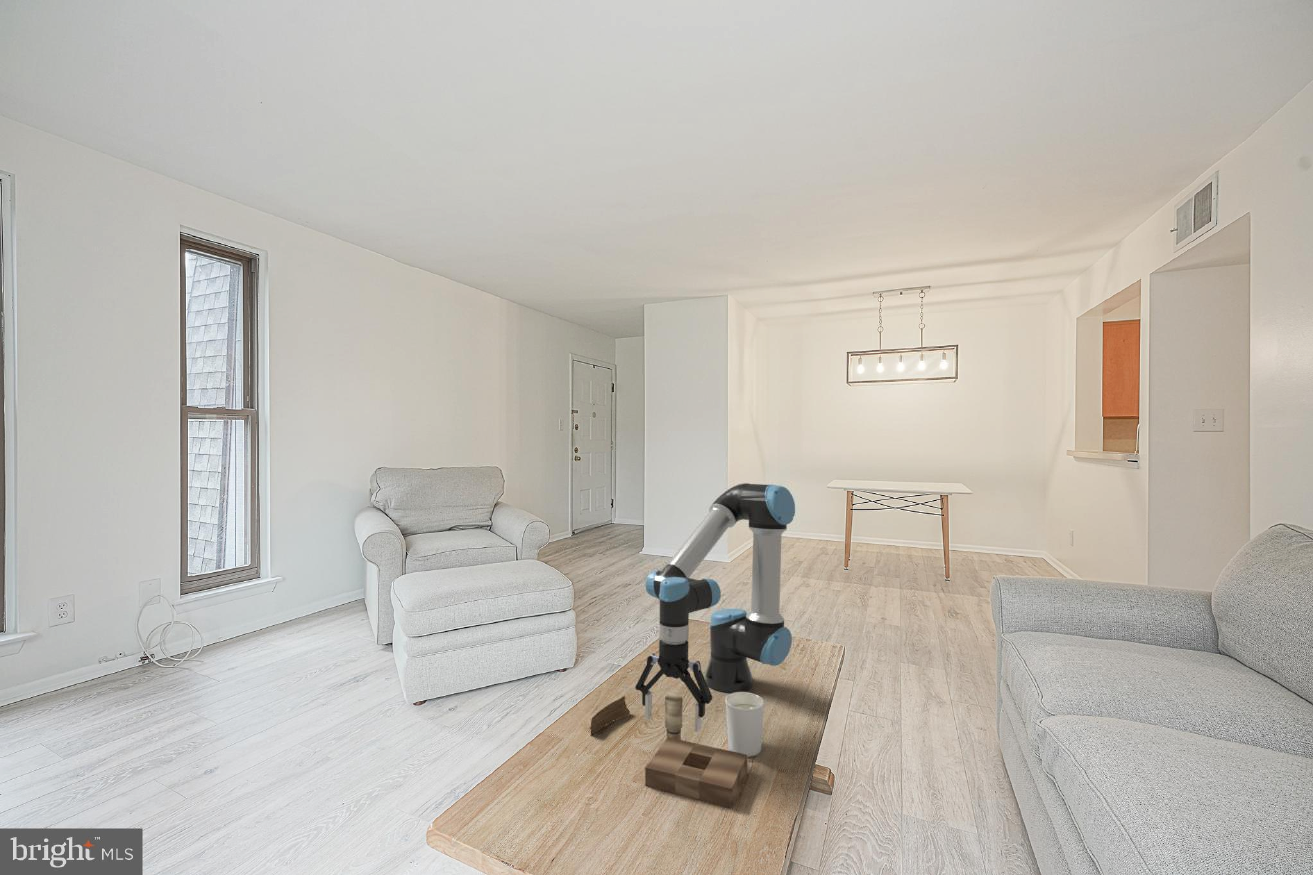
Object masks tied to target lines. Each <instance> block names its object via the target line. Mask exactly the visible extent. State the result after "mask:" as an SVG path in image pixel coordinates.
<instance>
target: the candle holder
mask: <svg viewBox="0 0 1313 875" xmlns="http://www.w3.org/2000/svg"><path fill="white" fill-rule="evenodd" d="M724 699H725V700H724V701H725V715H726V716H725V717H726V732H727V736H726V737H727V746H728V749H729V751H733V752H737V753H742V754H746V755H747V758H749V757H750V758H751V757H755V756H756V755H757V756H758V755H759V754H760V753H761V751H762V742H763V729H764V725H763V724H764V712H765V711H764V709H765V701H764V699H763V698H762V696H760V695H758V694H755V693H753V692H748V691H741V692H730V693H729V694H727V695H726V696H725V698H724Z"/></svg>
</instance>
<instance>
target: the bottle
mask: <svg viewBox="0 0 1313 875" xmlns="http://www.w3.org/2000/svg"><path fill="white" fill-rule="evenodd" d="M664 700H665V701H664V706H665V708H664V718H665V719H664V720H665V721H664V726H665V728H666V739H667V738H668V737H669V738H674V739H678V740H682V735H681V734H682V728H683V697H682V696H681V695H680V694H676V693H675V694H674V693H673V694H668V695H666V696H665V697H664Z"/></svg>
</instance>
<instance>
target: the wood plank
mask: <svg viewBox="0 0 1313 875" xmlns="http://www.w3.org/2000/svg"><path fill="white" fill-rule="evenodd" d="M625 696H626V695H624V696H622V697H621V698H617V699H616V700H615V701H612V702H610V703H609V704H607V705H606V706H605V707H603V708H602V709H600V710H599V711H598V712H596V714H595V715H594V716H592V718H591V720H590V726H589V729H590V736H593V735H594V734H595V733H597V732H599V731H600V730H601V728H602V729H603V728H605V725H606V724H607V725H609V724H611V723H613V722H612V721H613V720H615V721H617V720H616V719H618V720H619V719H623V718H624V717H626V716H628V715H630V714H631V712H630V709H628V707H627V703H626V697H625ZM610 722H611V723H610ZM608 723H609V724H608ZM607 725H606V726H607ZM599 729H600V730H599ZM596 731H597V732H596ZM593 733H594V734H593ZM592 734H593V735H592Z"/></svg>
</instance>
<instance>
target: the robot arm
mask: <svg viewBox="0 0 1313 875" xmlns="http://www.w3.org/2000/svg"><path fill="white" fill-rule="evenodd" d="M708 509H709V510H708V514H707V515H706V516H704V519H703V520H702V521H701V522H700V524H699V525H698V526H696V528H695V530H694V531H693V532H692V533H691V534H690V535H689V537H688V538H686V541H685V542H684V543H683V544H682V545H681V547H680V548H679V549H678V550H677V552H676V553H675V554H674V555H673V556H672V558H671V559H670V560H669V561H668V563H667V564H666V565H665V566H664V567H663V569H662V570H653V571H651V572H649V573H648V575H647V577H646V580H645V584H644V585H645V591H646V593H647V594H648V595H650V596H651V597H653V598H656V599H657V600H659V624H658V625H659V630H658V631H659V633H658V634H659V641H658V654H659V656H657V655H656V654H655V653H651V654H650V655H649V656H647V659H646V664H645V667H644V669H643V671H642V673H641V675H640V677H639V678H638V681H637V682H636V685H635V690H636V691H640V692H641V695H642V696H641V698H642V700H641V701H642V702H641V703H642V706H643V707H644V721H646V722H649V720H650V719H651V718H652V717H653V691H652V690H650V689H651V688H652V687H653V686H654V685H655V684H656V683H657V682H658V680H660V678H662V676H665V677H666V678H673V679H677V680H678V679H680V680H681V682H683V683H684V684H685V686H686V688H687V689H688V691H689V692H690V693H691V695H692V697H693V698H694V699H695V700H696V703H695V705H694V707H695V708H694V709H695V710H694V712H695V713H694V723H695V724H694V732H697V733H699V731H700V729H701V728H702V718H704V716H705V714H706V704H707V705H708V704H710V703H711V701H712V700H713V695H712V693H711V690H710V689H713V690H714V691H719V692H724V693H735V692H746V691H747V690H750V688H752V686H753V674H752V672H751V669H750V665H749V663H748V659H750V660H753V661H755V662H758V663H761V664H763V665H769V666H772V667H776V666H779V665H781V664H782V663H783V662H784V661H785V660H786V658H787V657H788V655H789V653H790V652H791V649H792V648H791V647H792V641H793V636H792V633H791V630H790V629H788V627H785V618H784V616H783V615H782V614H781V612H780V609H781V607H780V605H781V604H780V602H781V601H780V599H781V598H780V597H781V572H782V570H781V568H782V567H781V566H782V561H781V560H782V535H783V534H784V533H785V532H786V531H787V529H788V528H787V526H788V525H790V524H791V523H792V522H793V521H794V517H795V515H796V504H795V499H794V497H793V494H792V493H791V492H790V489H788V488H787V487H785V486H782V485H776V484H761V483H759V484H758V483H748V482H747V483H746V482H745V483H744V482H743V483H739V484H737V485H733V486H732V487H730V488H729V489H727V490H726V491H725V492H723V493H722V494H721V495H719V496H718V497H717V498H716V499H715V500H714V502H712V503H711V505H710V506H709V508H708ZM744 520H746V521H748V529H749V530H750V531H752V533H753V534H752V535H753V536H752V538H753V539H752V540H753V541H752V564H751V566H752V568H751V569H752V570H751V571H752V572H751V574H752V575H751V600H750V601H751V603H750V604H751V606H750V608H751V609H750V611H749V612H747V611H746V610H745V609H741V608H724V609H720V610H719V609H718V610H716V611H714V612H713V613H712V614H711V616H710V624H709V631H710V632H709V633H710V637H709V638H710V659H709V662H708V664H707V668H706V671H705V676H704V675H703V674H704V673H703V672H702V668H701V662H700V660H697V661H693V662H692V661H691V662H690V660H689V641H688V640H689V624H690V623H689V620H690V618H689V616H690V614H691V613H695V612H697V611H701V610H705V609H710V608H711V607H714V606H716V605H717V604H718V603H719V602H720V600H721V595H722V592H721V591H722V590H721V588H720V585H719V584H718V582H717V581H716V580H714V579H712V578H701V579H694V578H691V576H692V575H693V574H694V573H695V571H696V570H697V568H698V567H699V566H700V565H701V563H702V562H703V561H704V559H705V558H706V557H707V556H708V554H709V553H710V551H712V549H713V548H714V547H715V546H716V544H717V542H718V541H719V540H720V539H721V537H722V536H724V534H725V533H726V532H727V529H730V528H733V527H734V526H735V525H736V524H737V522H739V521H744ZM656 663H657V664H658V667H659V668H660V669H659V671H657V673H656V674H655V675H654V676H653V677H652V678H651V679H650V680H649V682H648V683H647V684H646V685H645V683H646V681H647V679H648V676H649V675H650V673H651V671H652V669H653V667H654V665H656ZM689 668H690V671H691V672H692V673H693V676H694V679H695V681H696V682H695V681H694V679H693V677H692V675H691V673H690V671H689V670H688V669H689Z"/></svg>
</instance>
